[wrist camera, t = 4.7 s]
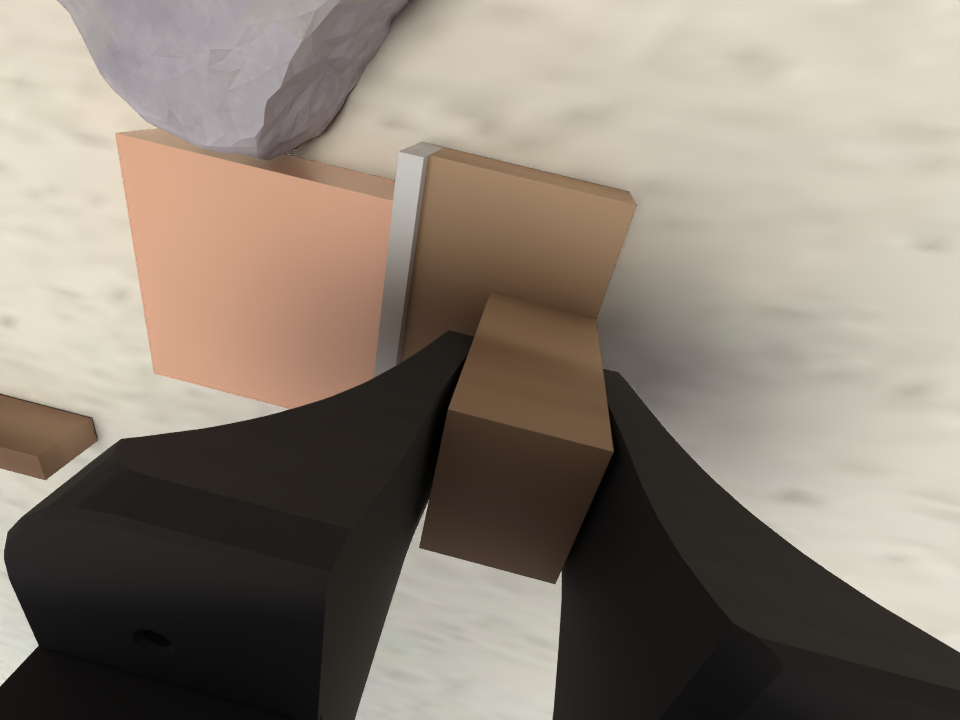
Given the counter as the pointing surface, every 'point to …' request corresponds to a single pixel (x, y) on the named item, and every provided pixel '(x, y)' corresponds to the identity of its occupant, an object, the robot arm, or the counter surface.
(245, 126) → the stone block
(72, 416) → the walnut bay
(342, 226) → the terracotta tile
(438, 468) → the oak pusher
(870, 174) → the counter surface
